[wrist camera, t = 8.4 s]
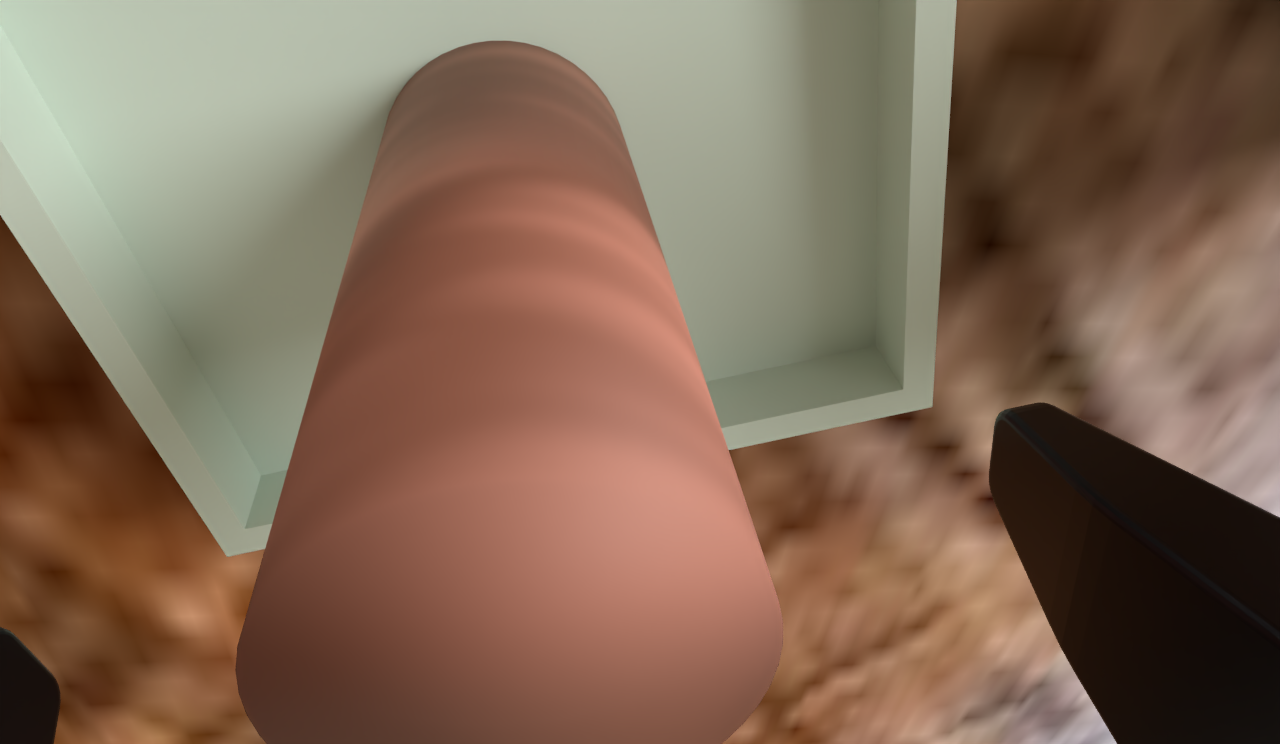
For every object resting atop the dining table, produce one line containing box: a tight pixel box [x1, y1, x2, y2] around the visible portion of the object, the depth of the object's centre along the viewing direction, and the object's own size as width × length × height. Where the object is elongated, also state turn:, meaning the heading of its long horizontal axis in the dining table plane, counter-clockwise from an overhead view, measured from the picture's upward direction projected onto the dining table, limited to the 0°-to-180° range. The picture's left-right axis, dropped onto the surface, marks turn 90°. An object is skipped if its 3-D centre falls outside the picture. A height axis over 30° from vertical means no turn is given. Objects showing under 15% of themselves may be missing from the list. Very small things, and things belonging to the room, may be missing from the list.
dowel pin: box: [236, 41, 783, 744], centre depth 11 cm, size 4×4×10 cm
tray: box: [0, 0, 957, 557], centre depth 14 cm, size 14×12×2 cm
